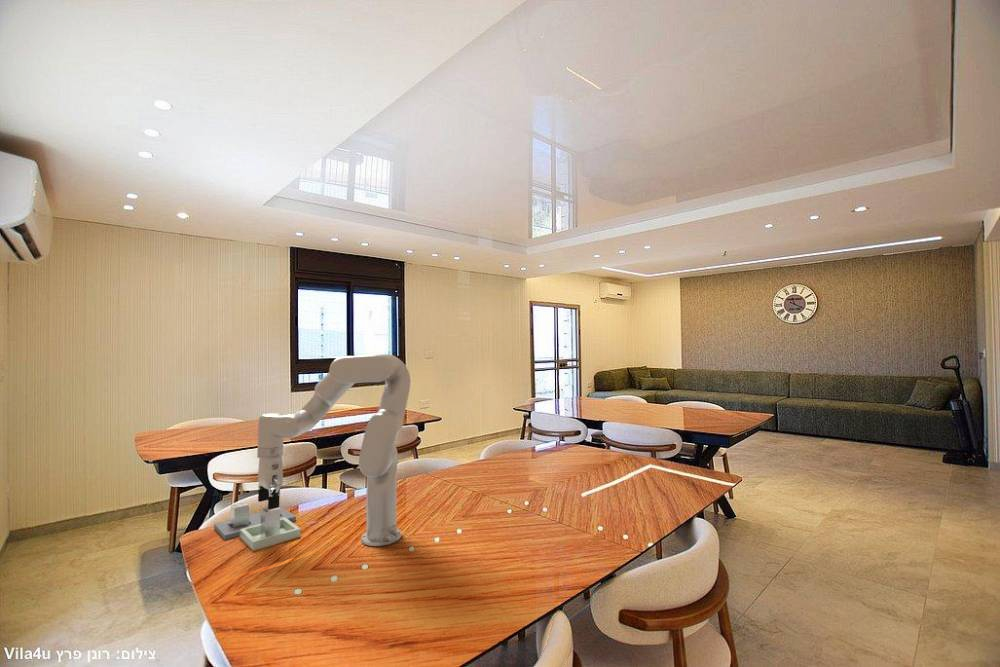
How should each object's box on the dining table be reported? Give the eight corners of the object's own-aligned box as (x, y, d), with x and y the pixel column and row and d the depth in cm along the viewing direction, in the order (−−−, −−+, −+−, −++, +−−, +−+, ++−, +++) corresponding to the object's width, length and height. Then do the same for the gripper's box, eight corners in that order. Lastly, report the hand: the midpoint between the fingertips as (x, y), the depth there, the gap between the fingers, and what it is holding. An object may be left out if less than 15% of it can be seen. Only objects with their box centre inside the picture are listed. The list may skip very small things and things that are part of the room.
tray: (300, 539, 142) (300, 528, 142) (252, 554, 132) (253, 542, 132) (285, 527, 152) (285, 517, 152) (239, 540, 142) (239, 529, 142)
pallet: (295, 523, 156) (295, 516, 156) (224, 543, 140) (224, 535, 140) (281, 513, 166) (281, 506, 166) (213, 530, 150) (214, 523, 150)
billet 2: (279, 536, 142) (279, 508, 143) (265, 540, 139) (265, 512, 140) (275, 532, 145) (275, 505, 146) (260, 536, 142) (260, 508, 143)
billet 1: (248, 531, 149) (249, 504, 150) (234, 535, 146) (234, 508, 147) (244, 527, 152) (245, 501, 153) (230, 531, 149) (230, 505, 150)
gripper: (292, 454, 140) (290, 508, 139) (273, 445, 152) (271, 495, 151) (266, 458, 135) (264, 514, 134) (249, 448, 147) (247, 500, 146)
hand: (268, 504), depth 143 cm, fingers open, 9 cm apart
